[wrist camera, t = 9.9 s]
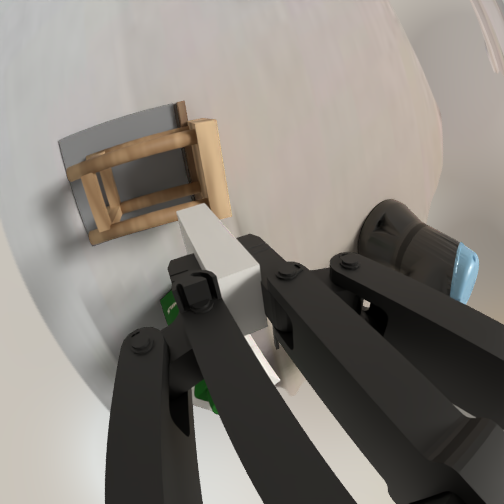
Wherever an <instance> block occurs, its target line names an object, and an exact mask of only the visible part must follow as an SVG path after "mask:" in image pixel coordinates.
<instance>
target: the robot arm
mask: <svg viewBox="0 0 504 504" xmlns="http://www.w3.org/2000/svg"><path fill="white" fill-rule="evenodd" d="M176 213H177V217H178V221H179V225H180V228H181V232H182V236H183V239H184V243H185V247H186V250H187V254H188V255H186V256H183V257H180V258H177V259H174V260H171V261H170V263H169V266H168V272H169V275H170V279H171V282H172V293H173V296H174V299H175V301H176V304H177V306H178V309H179V313H178V315H177V317H176V319H175V320H174V321H173V322H172V323H171V324H170V325H169V326H167V327H166V328H164V329H163V330H161V331H159V330H158V329H155V328H153V327H144V328H141V329H137V330H135V331H134V332H132V333H130V334H129V335H128V336H127V337H126V339H125V340H124V342H123V344H122V346H121V351H120V356H119V361H118V366H117V372H116V378H115V384H114V390H113V397H112V404H111V411H110V420H109V429H108V440H107V453H106V471H105V472H106V473H105V504H203V501H202V495H201V487H200V479H199V471H198V463H197V452H196V442H195V430H194V416H193V401H192V389H191V388H192V387H194V386H195V385H196V384H198V383H199V382H201V381H202V380H203V379H204V380H205V383H206V385H207V388H208V390H209V393H210V395H211V397H212V400H213V402H214V404H215V407H216V409H217V411H218V414H219V416H220V418H221V420H222V423H223V425H224V427H225V429H226V431H227V434H228V436H229V437H230V440H231V442H232V444H233V446H234V448H235V450H236V452H237V454H238V456H239V458H240V460H241V462H242V464H243V466H244V468H245V470H246V472H247V474H248V476H249V478H250V479H251V481H252V483H253V485H254V487H255V489H256V490H257V492H258V494H259V496H260V497H261V499H262V501H263V503H264V504H357V503H356V501H355V500H354V499H353V498H352V496H351V495H350V494H349V492H348V491H347V490H346V489H345V487H344V486H343V484H342V483H341V482H340V480H339V479H338V478H337V477H336V475H335V474H334V472H333V471H332V470H331V468H330V467H329V466H328V464H327V463H326V462H325V460H324V458H323V457H322V456H321V454H320V453H319V452H318V450H317V449H316V447H315V446H314V444H313V443H312V441H311V440H310V439H309V437H308V436H307V434H306V433H305V431H304V430H303V428H302V427H301V425H300V424H299V422H298V421H297V419H296V418H295V416H294V415H293V414H292V412H291V410H290V409H289V407H288V406H287V404H286V403H285V401H284V400H283V398H282V397H281V395H280V393H279V392H278V390H277V389H276V387H275V386H274V384H273V382H272V381H271V379H270V378H269V376H268V374H267V373H266V371H265V370H264V368H263V366H262V365H261V363H260V362H259V360H258V358H257V357H256V355H255V353H254V352H253V350H252V348H251V347H250V345H249V343H248V342H247V340H246V338H245V337H244V336H246V335H248V334H251V333H253V332H256V331H258V330H261V329H263V328H265V327H268V324H267V317H268V319H269V320H270V321H271V323H272V325H273V334H274V343H275V347H276V350H277V349H279V342H280V344H281V345H282V347H283V348H284V349H285V351H286V352H287V354H288V355H289V356H290V358H291V359H292V361H293V362H294V363H295V365H296V366H297V367H298V369H299V370H300V372H301V373H302V374H303V376H304V377H305V378H306V380H307V381H308V382H309V384H310V385H311V386H312V388H313V389H314V390H315V392H316V393H317V395H318V396H319V397H320V398H321V400H322V401H323V403H324V404H325V405H326V406H327V408H328V409H329V410H330V412H331V413H332V414H333V416H334V417H335V418H336V420H337V421H338V422H339V423H340V425H341V426H342V427H343V429H344V430H345V431H346V433H347V434H348V435H349V436H350V438H351V439H352V440H353V441H354V443H355V444H356V445H357V447H358V448H359V449H360V451H361V452H362V453H363V454H364V456H365V457H366V458H367V459H368V460H369V462H370V463H371V464H372V465H373V467H374V468H375V469H376V470H377V472H378V473H379V474H380V475H381V477H382V478H383V479H384V480H385V482H386V483H387V486H388V492H389V495H390V497H391V498H392V500H393V501H394V502H395V503H396V504H504V325H503V324H501V323H499V322H498V321H496V320H494V319H492V318H490V317H488V316H486V315H484V314H482V313H481V312H479V311H477V310H475V309H473V308H471V307H469V306H467V305H466V303H467V301H468V299H469V297H470V295H471V292H472V290H473V287H474V284H475V281H476V278H477V274H478V269H479V260H478V256H477V254H476V253H475V252H473V251H472V250H471V249H469V248H468V247H466V246H465V245H464V244H463V243H462V242H458V241H456V240H455V239H453V238H451V237H449V236H447V235H446V234H444V233H442V232H440V231H438V230H436V229H434V228H432V227H430V226H428V225H426V224H425V223H423V222H421V221H420V220H419V219H418V217H417V216H416V215H415V214H414V213H413V212H412V211H411V210H410V209H408V207H407V206H406V205H404V204H403V203H401V202H399V201H396V200H394V199H388V200H385V201H383V202H381V203H380V204H379V205H377V206H376V207H375V208H374V209H373V211H372V212H371V213H370V215H369V216H368V218H367V219H366V221H365V223H364V225H363V228H362V230H361V234H360V238H359V244H358V251H359V254H356V253H350V252H344V253H339V254H337V255H335V256H333V257H332V258H331V260H330V268H324V269H318V270H308V269H307V268H306V267H305V266H303V265H302V264H300V263H296V262H286V261H285V260H284V259H283V258H282V257H281V256H280V255H279V254H277V253H276V252H275V251H274V250H273V249H272V248H270V246H269V245H268V244H266V242H264V241H263V240H262V239H261V238H260V237H258V236H255V235H252V234H248V235H245V236H242V237H238V238H235V237H234V235H233V234H232V233H231V232H230V231H229V230H228V229H227V228H226V227H225V225H224V224H223V223H222V222H221V221H220V220H219V219H218V218H217V216H216V215H215V214H214V213H213V212H212V211H211V210H210V209H209V208H208V206H207V205H206V204H205V203H202V204H199V205H196V206H192V207H189V208H186V209H182V210H179V211H176ZM364 299H365V300H367V301H368V302H370V307H369V308H367V307H364V306H363V300H364ZM266 316H267V317H266Z"/></svg>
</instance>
